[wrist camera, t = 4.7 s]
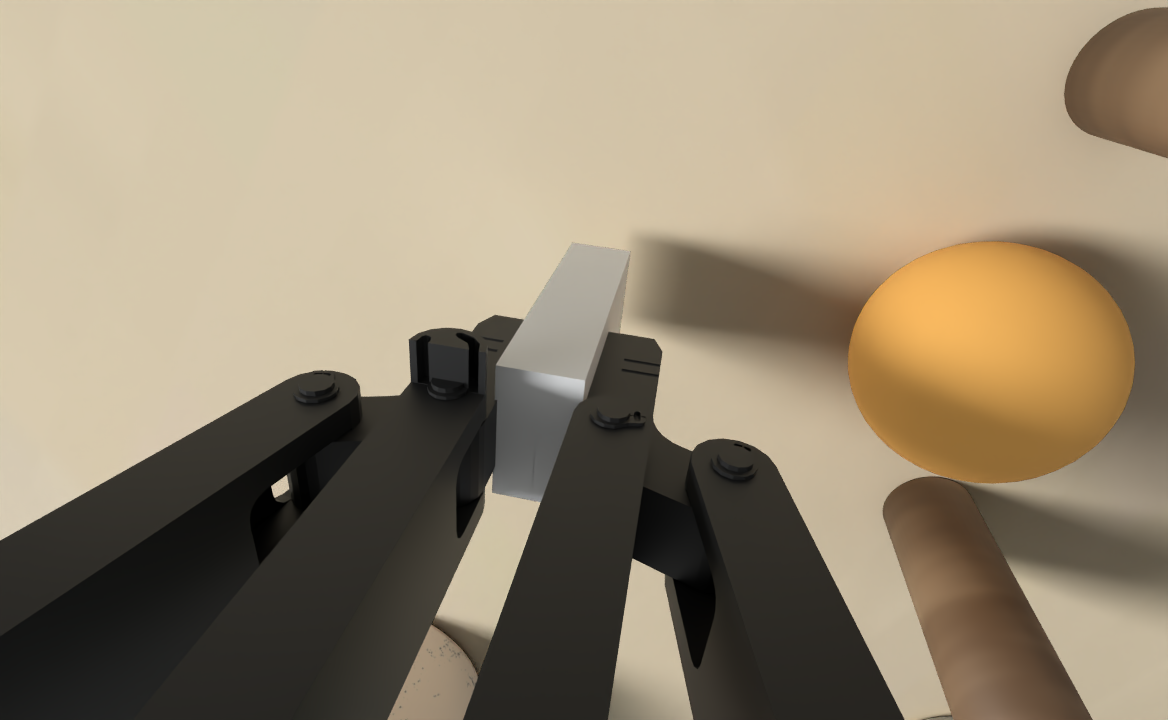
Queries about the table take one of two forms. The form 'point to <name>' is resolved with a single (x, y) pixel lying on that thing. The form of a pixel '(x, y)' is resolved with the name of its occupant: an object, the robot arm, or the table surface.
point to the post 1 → (974, 610)
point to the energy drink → (941, 718)
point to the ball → (991, 362)
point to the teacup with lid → (436, 682)
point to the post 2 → (1124, 82)
